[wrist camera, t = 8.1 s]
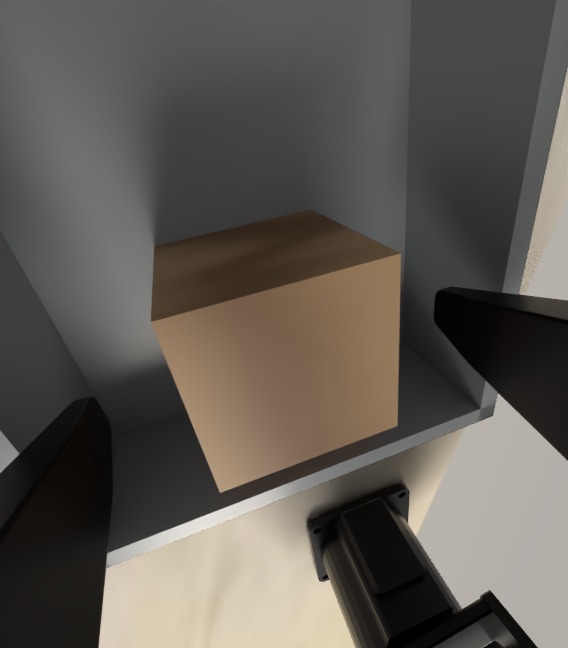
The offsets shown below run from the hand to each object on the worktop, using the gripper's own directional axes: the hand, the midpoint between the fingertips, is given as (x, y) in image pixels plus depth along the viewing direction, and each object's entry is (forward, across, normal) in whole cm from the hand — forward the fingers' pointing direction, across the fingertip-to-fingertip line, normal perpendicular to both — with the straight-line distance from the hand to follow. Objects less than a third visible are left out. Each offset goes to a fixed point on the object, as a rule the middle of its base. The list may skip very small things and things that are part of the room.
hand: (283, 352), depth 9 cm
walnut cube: (+4, 0, 0) cm, 4 cm away
